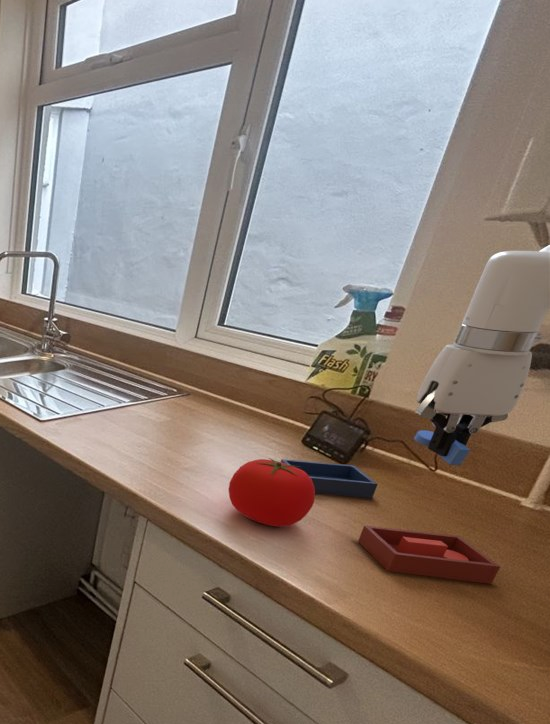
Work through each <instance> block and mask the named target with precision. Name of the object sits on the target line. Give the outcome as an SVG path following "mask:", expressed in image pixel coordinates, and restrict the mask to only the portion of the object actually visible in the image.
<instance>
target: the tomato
mask: <svg viewBox="0 0 550 724" xmlns="http://www.w3.org/2000/svg"><path fill="white" fill-rule="evenodd" d="M296 467H300V466H296ZM296 467H294V466H293V465H288V464H285V463H282V462H281V461H277V460H274V459H272V458H270V457H268V459H264V458H260V459H254V460H251V461H250V460H249V461H248V462H245V463H243V464H242V465H241V466H239V468H237V470H236V471H235V472H234V473H233V475H232V477H231V478H230V481H229V484H228V497H229V501H230V503H231V505H232V506H233V507H234V509H236V511H237V512H238V513H240V514H242V515H243V516H244V517H246V518H248V519H250V520H252V521H255V522H257V523H260V524H263V525H267V526H270V527H271V526H273V527H288V526H293V525H294V524H297V523H298V522H300V521H302V520H303V519H304V518H305V517H306V515H308V513H309V512H310V511H311V509H312V508H313V505H314V502H315V498H316V497H315V495H316V493H315V489H314V484H313V482H312V479H311V478H310V477H309V475H308V474H307V473H306V472H304V471H303V470H301V469H298V468H296Z"/></svg>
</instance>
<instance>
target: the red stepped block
mask: <svg viewBox="0 0 550 724" xmlns="http://www.w3.org/2000/svg"><path fill="white" fill-rule="evenodd" d="M447 547H448V546H447V545H446V544H444V543H443V542H442V541H437V540H428V539H419V538H410V537H402V539H401V541H400V544H399V546H398V548H397V552H398V553H406V554H414V555H423V556H431V557H440V558H448V559H457V560H465V561H469V560H468V558H467V557H465V556H464V555H462V554H460V553H458V552H455V551H452V550H447Z"/></svg>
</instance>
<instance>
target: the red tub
mask: <svg viewBox="0 0 550 724" xmlns="http://www.w3.org/2000/svg"><path fill="white" fill-rule="evenodd" d="M402 537H410V538H419V539H428V540H437V541H442V542H443V543H444V544H446V545H447V546H448V547H447V550H452V551H455V552H458V553H460V554H462V555H464V556H465V557H467V558H468V560H469V561H465V560H457V559H448V558H440V557H431V556H423V555H414V554H406V553H398V552H397V548H398V546H399V544H400V541H401V539H402ZM357 542H358V543H359V544H360V545H361V546H362V547H363V548H364V550H366V552H368V553H369V554H370V555H371V556H372V557H373V558H374V559H375V560H376V561H377V562H378V563H379V564H380V565H381V566H382V567H383V568H384V569H385V570H386V571H387V572H392V573H401V574H408V575H417V576H424V577H433V578H438V579H439V578H440V579H448V580H455V581H457V580H458V581H463V582H464V581H465V582H472V583H479V584H489V585H492V583H493V581H494V580H495V578H496V577H497V575H498V572H499V570H500V569H501V566H500V565H499V564H497V563H496V562H495V561H494V560H493V559H491V558H489V557H488V556H487V555H486V554H485V553H483V552H481V551H480V550H479V549H478V548H476V547H475V546H473V545H472V544H471V543H469V541H467V540H466V539H465V538H462V537H461V536H460V535H454V534H445V533H435V532H427V531H419V530H418V531H417V530H409V529H401V528H400V529H399V528H389V527H381V526H373V525H364V526H363V528H362V530H361V533H360V535H359V537H358V540H357Z"/></svg>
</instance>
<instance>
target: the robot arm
mask: <svg viewBox="0 0 550 724" xmlns="http://www.w3.org/2000/svg"><path fill="white" fill-rule="evenodd" d="M549 311H550V244H549V245H547V246H545V247H543V248H542V249H540V250H505V251H500V252H497V253H495V254H493V255H491V256H490V257H489V259H488V261H487V262H486V263H485V267H484V268H483V271H482V273H481V276H480V278H479V281H478V282H477V286H476V288H475V290H474V293H473V295H472V297H471V300H470V303H469V305H468V307H467V310H466V312H465V315H464V317H463V319H462V321H461V322H462V323H461V325H460V327H459V329H458V331H457V334H456V337H455V339H454V342H453V344H446V345H445V346H444V347H443V348H442V350H441V351H440V352H439V354H438V355H437V357H435V360H434V361H433V363H432V364H431V366H430V368H429V370H428V371H427V373H426V375H425V377H424V379H423V381H422V383H421V385H420V387H419V390H418V392H417V394H416V398H415V401H416V402H417V403H418V404H419V405H418V406H417V408H416V409H415V412H414V413H415V414H416V415H418V416H420V417H422V418H424V419H425V418H426V419H428V420H429V421H431V423H432V426H433V427H435V429H434V431H433V432H434V433H433V436H432V438H431V440H430V443H429V446H427V448H428V450H430V452H431V451H432V452H433V453H435V454H436V453H437V454H436V455H438V454H439V455H440V456H447V455H448V452H449V450H450V448H451V445H452V443H454V442H455V439H456V440H457V441H458V442H459V443H462V444H464V445H465V446H466V447H467V444H468V442H469V440H470V437H471V435H476V434H477V433H478V432H479V431H480V430H481V428H484V427H485V426H487V425H489V424H491V423H498V422H503V421H506V420H507V419H509V414H510V413H512V411H513V410H514V408H515V407H516V405H517V404H518V402H519V400H520V397H521V395H522V393H523V390H524V388H525V385H526V383H527V379H528V376H529V373H530V369H531V365H532V357H533V352H532V351H531V349H532V346H533V345H534V343H538V342H540V341H541V340H542V339H543V334H542V333H541V332H539V331H540V330H541V328H542V326H543V323H544V321H545V319H546V316H547V314H548V312H549ZM439 455H438V456H439ZM440 456H439V457H440Z"/></svg>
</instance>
